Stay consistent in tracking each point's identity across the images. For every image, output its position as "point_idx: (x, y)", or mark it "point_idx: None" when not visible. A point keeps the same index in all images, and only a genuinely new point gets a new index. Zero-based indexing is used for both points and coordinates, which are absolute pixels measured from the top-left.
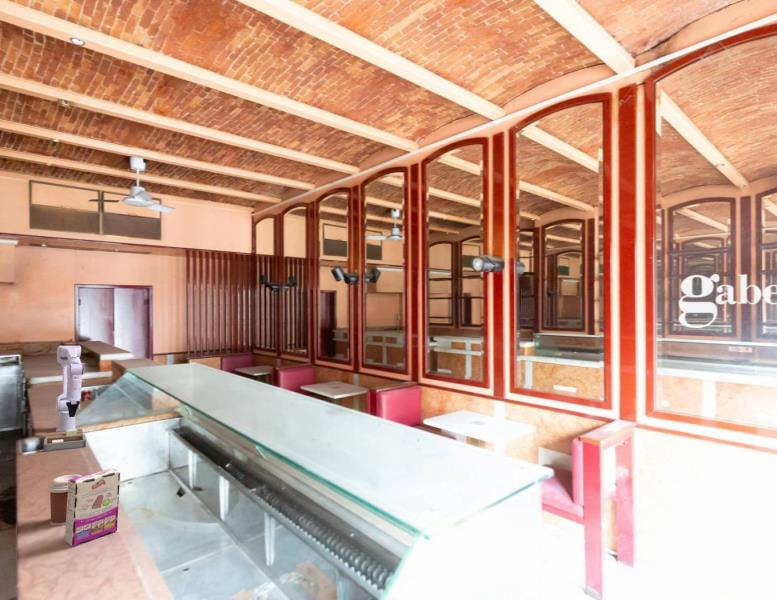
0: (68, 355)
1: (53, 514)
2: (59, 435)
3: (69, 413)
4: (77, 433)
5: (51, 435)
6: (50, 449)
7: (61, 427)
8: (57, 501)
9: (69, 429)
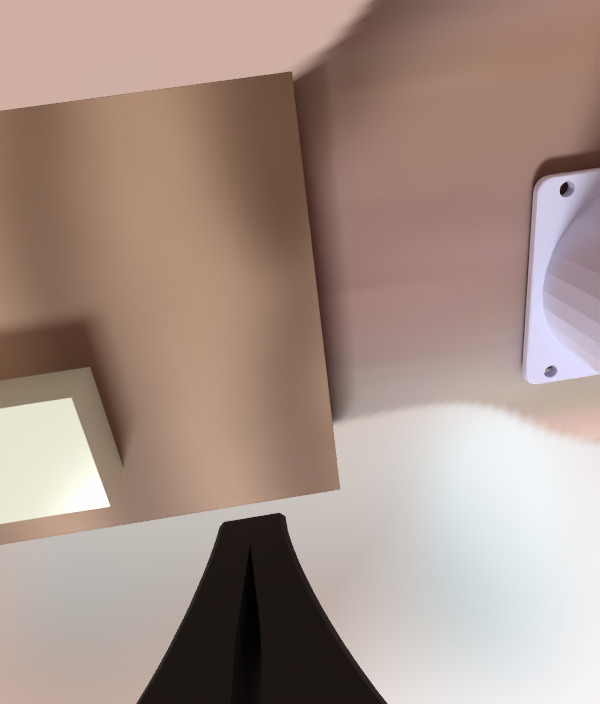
0: None
1: None
2: (8, 301)
3: (201, 593)
4: None
5: (24, 192)
6: None
7: (593, 244)
8: None
9: (79, 434)
